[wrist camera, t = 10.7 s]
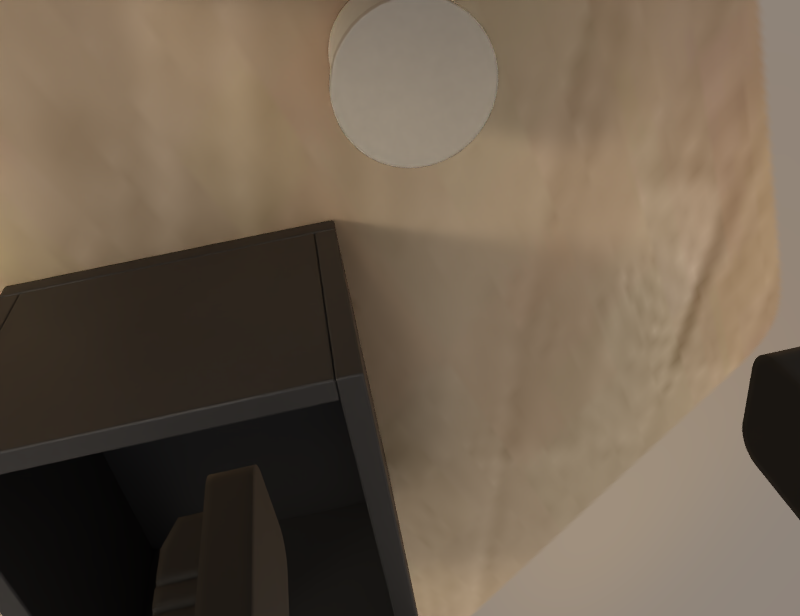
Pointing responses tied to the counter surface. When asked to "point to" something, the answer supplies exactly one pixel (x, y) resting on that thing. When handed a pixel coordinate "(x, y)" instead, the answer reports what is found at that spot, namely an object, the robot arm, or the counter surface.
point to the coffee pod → (410, 79)
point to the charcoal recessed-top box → (191, 426)
